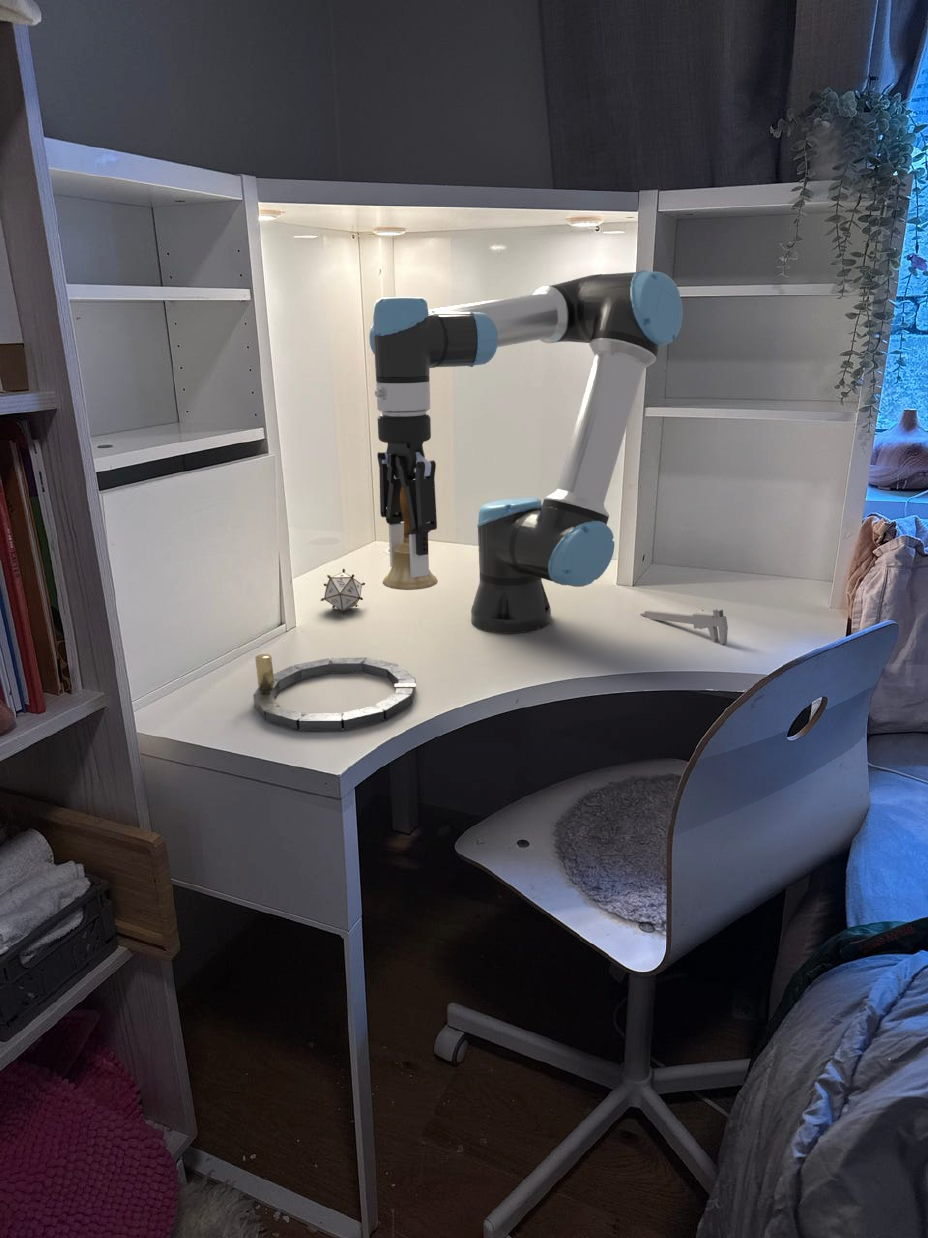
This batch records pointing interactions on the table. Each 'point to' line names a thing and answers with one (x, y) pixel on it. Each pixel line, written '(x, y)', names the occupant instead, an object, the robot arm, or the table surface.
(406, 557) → the hand bell
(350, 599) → the game die
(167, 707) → the table surface
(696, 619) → the caliper
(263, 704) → the ring
